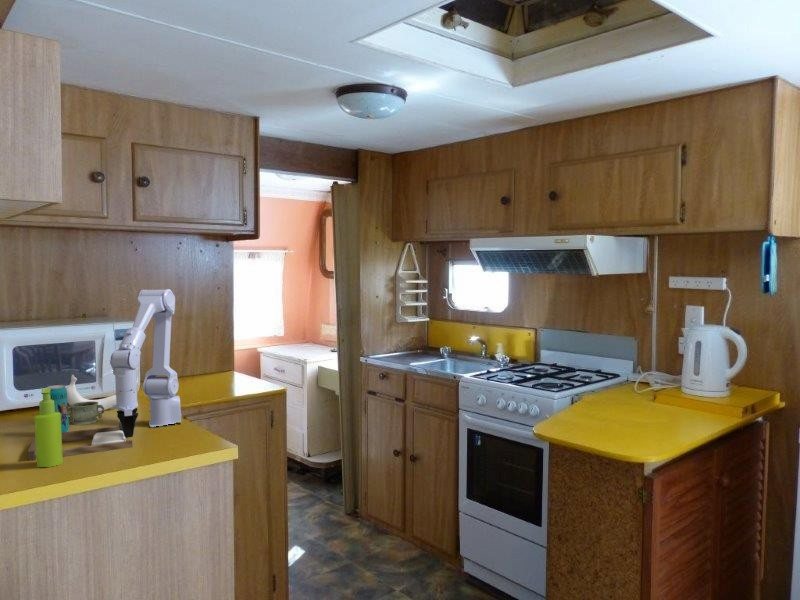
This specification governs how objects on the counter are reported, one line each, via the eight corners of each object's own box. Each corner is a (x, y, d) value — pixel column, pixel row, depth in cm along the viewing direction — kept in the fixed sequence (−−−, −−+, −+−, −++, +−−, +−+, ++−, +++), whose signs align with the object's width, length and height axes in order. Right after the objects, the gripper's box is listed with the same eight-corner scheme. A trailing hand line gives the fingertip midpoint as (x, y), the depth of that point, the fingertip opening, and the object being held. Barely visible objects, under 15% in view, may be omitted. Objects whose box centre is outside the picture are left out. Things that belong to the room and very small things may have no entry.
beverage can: (59, 437, 188) (57, 388, 188) (43, 436, 189) (41, 388, 189) (73, 432, 194) (71, 384, 193) (57, 431, 195) (55, 384, 194)
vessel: (65, 427, 201) (64, 408, 200) (64, 422, 208) (63, 403, 208) (106, 422, 207) (105, 403, 206) (103, 417, 214) (102, 399, 214)
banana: (124, 410, 225) (123, 370, 224) (65, 417, 215) (63, 375, 215) (123, 407, 229) (121, 368, 228) (65, 414, 219) (63, 373, 219)
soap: (90, 447, 177) (90, 437, 176) (93, 441, 183) (92, 432, 183) (125, 443, 180) (124, 433, 180) (126, 438, 186) (125, 428, 186)
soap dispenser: (36, 470, 156) (32, 392, 155) (37, 463, 162) (33, 387, 161) (62, 466, 158) (58, 389, 158) (63, 459, 165) (59, 385, 164)
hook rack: (129, 432, 192) (129, 421, 192) (132, 447, 175) (132, 434, 175) (35, 443, 181) (34, 432, 181) (28, 460, 164) (27, 447, 164)
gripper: (111, 387, 187) (113, 431, 188) (111, 395, 174) (114, 443, 175) (136, 385, 190) (138, 428, 191) (139, 392, 177) (141, 439, 178)
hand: (128, 435), depth 183 cm, fingers open, 4 cm apart
